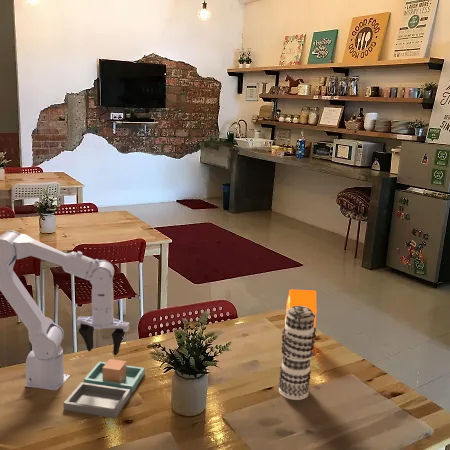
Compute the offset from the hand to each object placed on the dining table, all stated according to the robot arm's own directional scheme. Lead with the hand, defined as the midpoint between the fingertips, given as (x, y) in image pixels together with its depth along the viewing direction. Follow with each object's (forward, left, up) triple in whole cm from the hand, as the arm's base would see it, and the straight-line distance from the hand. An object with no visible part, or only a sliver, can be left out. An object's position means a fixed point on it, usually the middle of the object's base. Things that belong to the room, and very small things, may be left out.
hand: (103, 351), depth 140 cm
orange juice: (+53, +37, -10) cm, 65 cm away
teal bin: (+3, +1, -9) cm, 10 cm away
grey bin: (+3, -10, -9) cm, 14 cm away
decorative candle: (+53, +9, -10) cm, 55 cm away
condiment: (+20, +18, -10) cm, 29 cm away
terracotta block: (+3, +1, -9) cm, 9 cm away
